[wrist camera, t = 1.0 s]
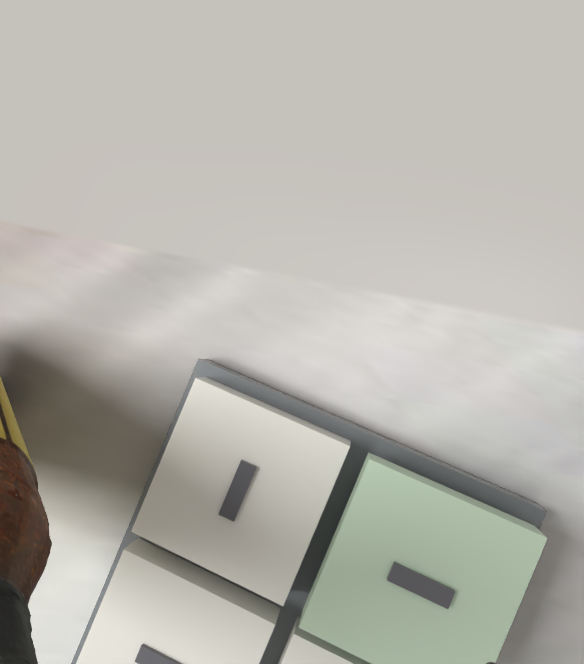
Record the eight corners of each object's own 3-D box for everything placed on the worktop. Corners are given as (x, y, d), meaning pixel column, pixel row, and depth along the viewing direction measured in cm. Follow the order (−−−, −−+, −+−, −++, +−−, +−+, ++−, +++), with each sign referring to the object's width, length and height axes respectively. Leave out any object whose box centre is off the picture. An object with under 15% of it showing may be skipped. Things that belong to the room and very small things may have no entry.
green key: (460, 672, 23) (474, 718, 20) (305, 596, 23) (298, 630, 21) (525, 516, 23) (549, 540, 20) (368, 447, 23) (369, 459, 21)
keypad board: (394, 844, 23) (398, 911, 21) (75, 672, 26) (39, 712, 23) (537, 503, 23) (562, 523, 21) (206, 358, 26) (186, 359, 23)
